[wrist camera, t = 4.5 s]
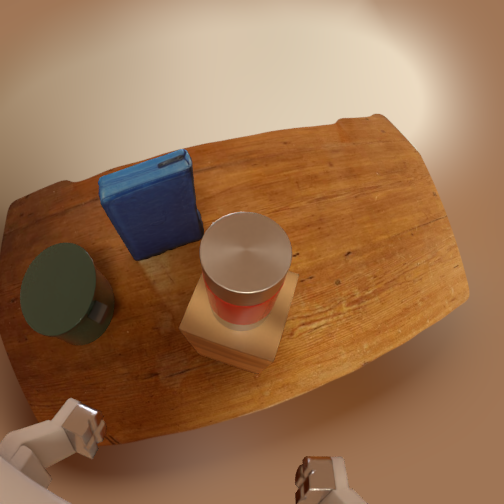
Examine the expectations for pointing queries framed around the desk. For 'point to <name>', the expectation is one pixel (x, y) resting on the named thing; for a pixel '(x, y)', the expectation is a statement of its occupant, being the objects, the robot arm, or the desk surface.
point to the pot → (66, 295)
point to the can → (244, 268)
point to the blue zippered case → (153, 204)
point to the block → (237, 342)
